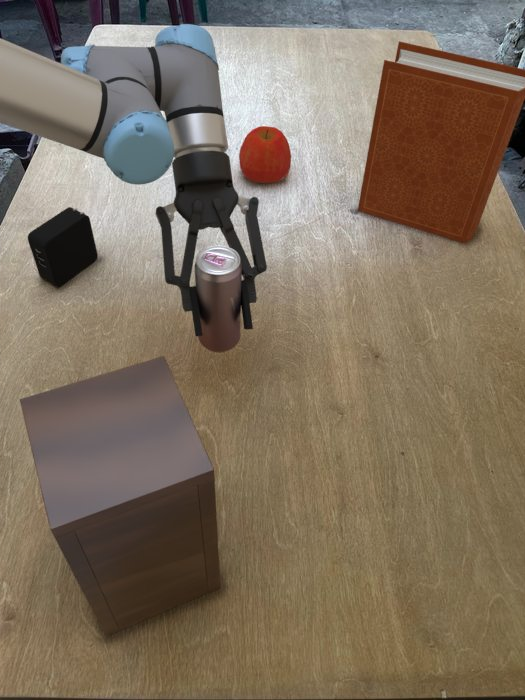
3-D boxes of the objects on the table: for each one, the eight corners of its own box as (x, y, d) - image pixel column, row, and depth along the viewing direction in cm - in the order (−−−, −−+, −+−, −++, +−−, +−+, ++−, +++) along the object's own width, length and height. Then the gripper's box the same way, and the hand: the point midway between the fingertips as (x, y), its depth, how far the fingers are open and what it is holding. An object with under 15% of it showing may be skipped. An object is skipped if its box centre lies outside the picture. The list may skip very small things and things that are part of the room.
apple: (250, 195, 127) (251, 148, 119) (230, 167, 133) (230, 121, 125) (298, 184, 130) (302, 137, 122) (276, 157, 136) (278, 111, 128)
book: (357, 210, 125) (384, 60, 102) (370, 189, 130) (399, 41, 107) (470, 245, 119) (525, 93, 96) (480, 221, 124) (534, 71, 101)
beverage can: (211, 318, 92) (209, 238, 81) (247, 332, 90) (250, 253, 79) (190, 345, 88) (185, 265, 77) (227, 360, 87) (227, 281, 75)
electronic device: (40, 279, 109) (25, 234, 101) (82, 250, 114) (71, 204, 107) (57, 289, 107) (43, 244, 100) (98, 259, 113) (89, 213, 105)
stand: (77, 529, 79) (19, 398, 58) (182, 490, 83) (163, 355, 62) (106, 636, 71) (50, 529, 50) (220, 587, 75) (214, 469, 54)
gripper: (265, 156, 86) (286, 322, 88) (126, 169, 83) (151, 340, 85) (277, 142, 79) (299, 323, 81) (125, 155, 76) (152, 343, 78)
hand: (223, 331), depth 83 cm, fingers closed on beverage can, 6 cm apart
